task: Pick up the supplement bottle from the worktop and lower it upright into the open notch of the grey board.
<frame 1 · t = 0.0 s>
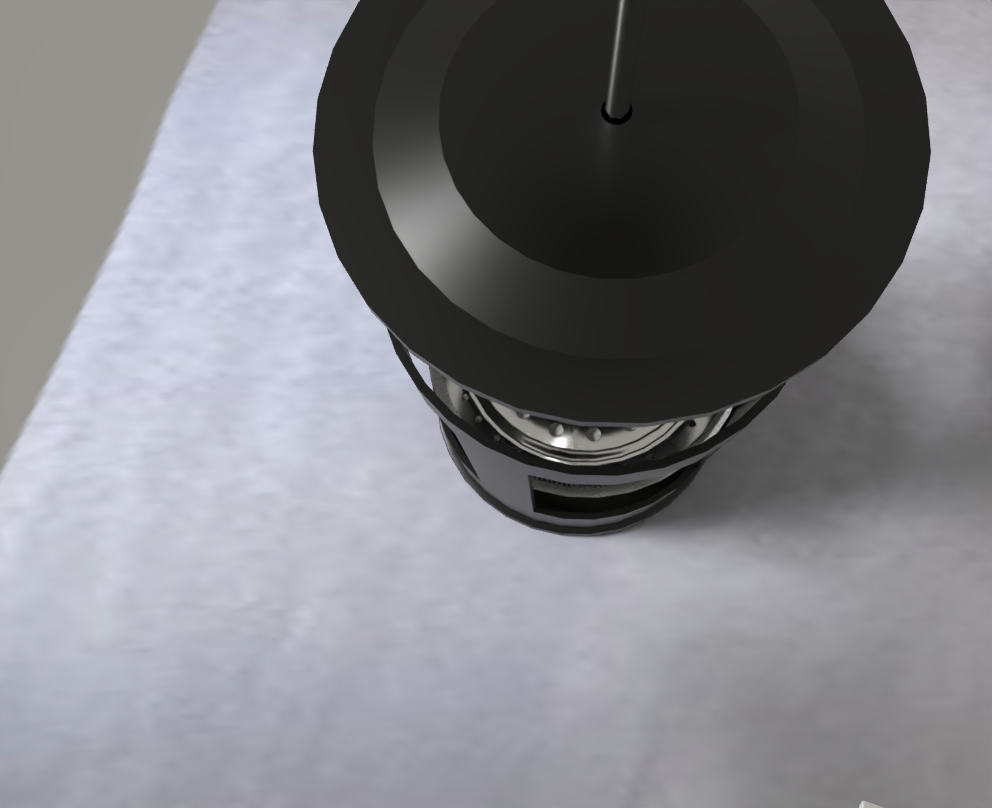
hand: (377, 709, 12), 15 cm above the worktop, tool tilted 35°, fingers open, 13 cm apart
french press: (563, 390, 29), on the worktop
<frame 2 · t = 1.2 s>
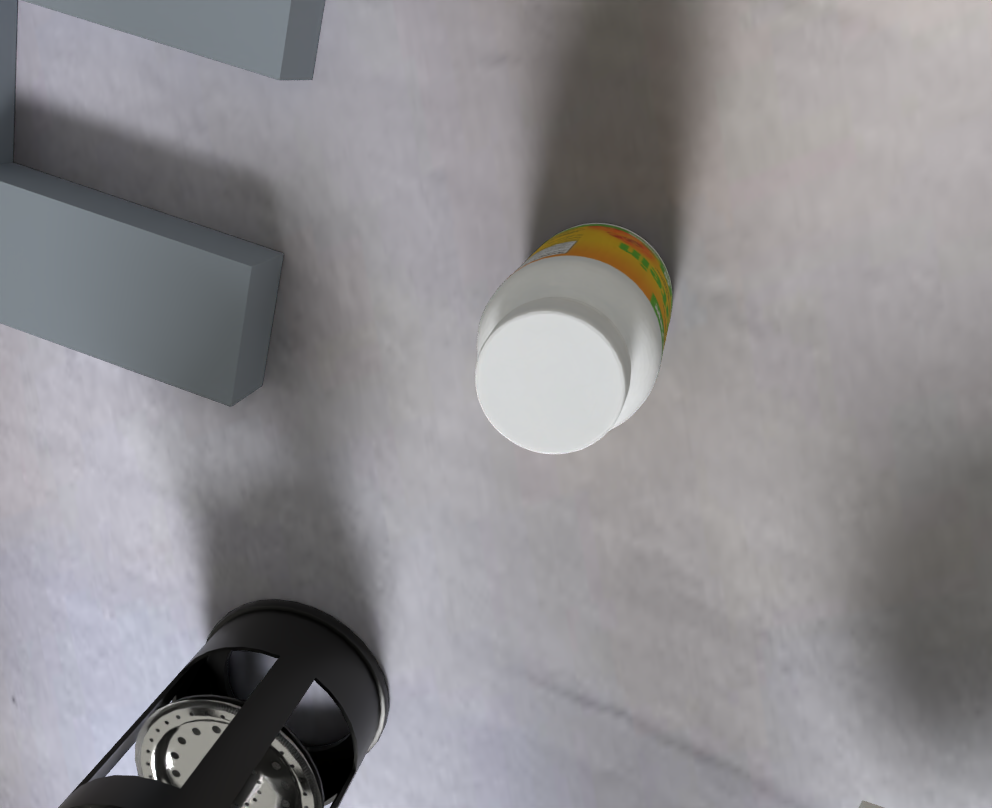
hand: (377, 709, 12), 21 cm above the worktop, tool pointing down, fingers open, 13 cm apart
supplement bottle: (598, 294, 31), on the worktop
notched board: (106, 108, 33), on the worktop
french press: (294, 687, 41), on the worktop
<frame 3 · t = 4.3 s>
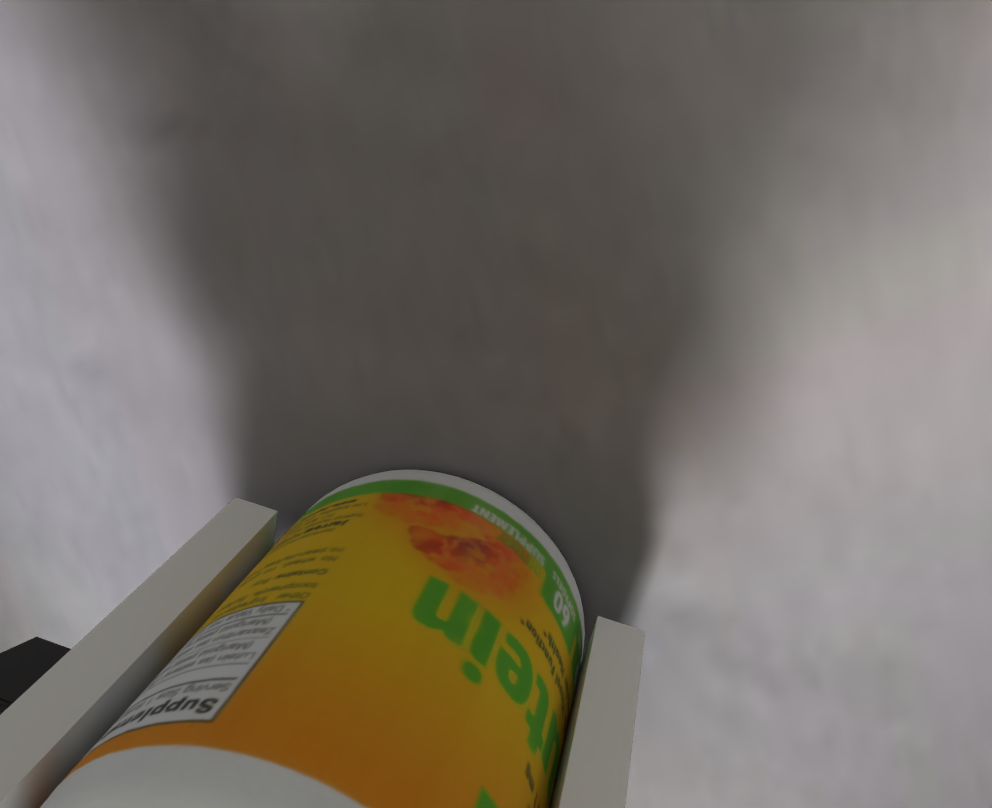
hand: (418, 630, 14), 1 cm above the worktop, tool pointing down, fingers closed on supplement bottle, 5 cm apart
supplement bottle: (437, 594, 15), on the worktop, touching gripper
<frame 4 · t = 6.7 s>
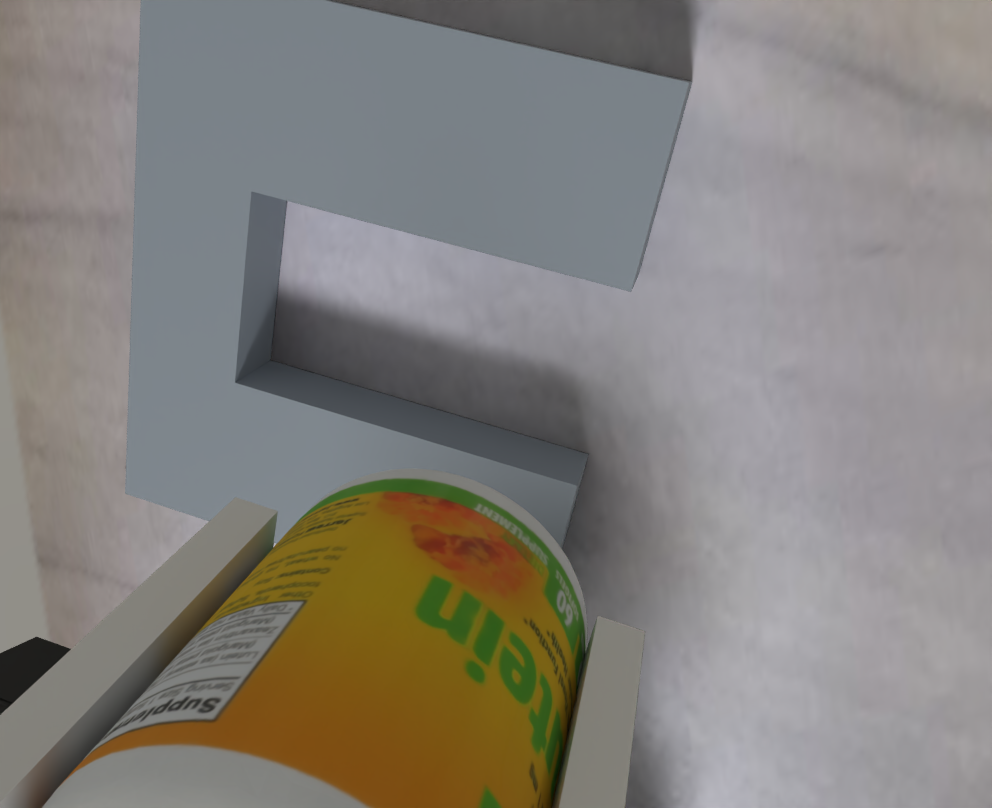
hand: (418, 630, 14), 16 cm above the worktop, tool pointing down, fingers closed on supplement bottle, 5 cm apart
supplement bottle: (439, 594, 15), point 15 cm above the worktop, touching gripper
notched board: (385, 304, 29), on the worktop
when the fingers open (2 cm above the worktop, at t = 9.4 s): supplement bottle drops 1 cm, resting in notched board.
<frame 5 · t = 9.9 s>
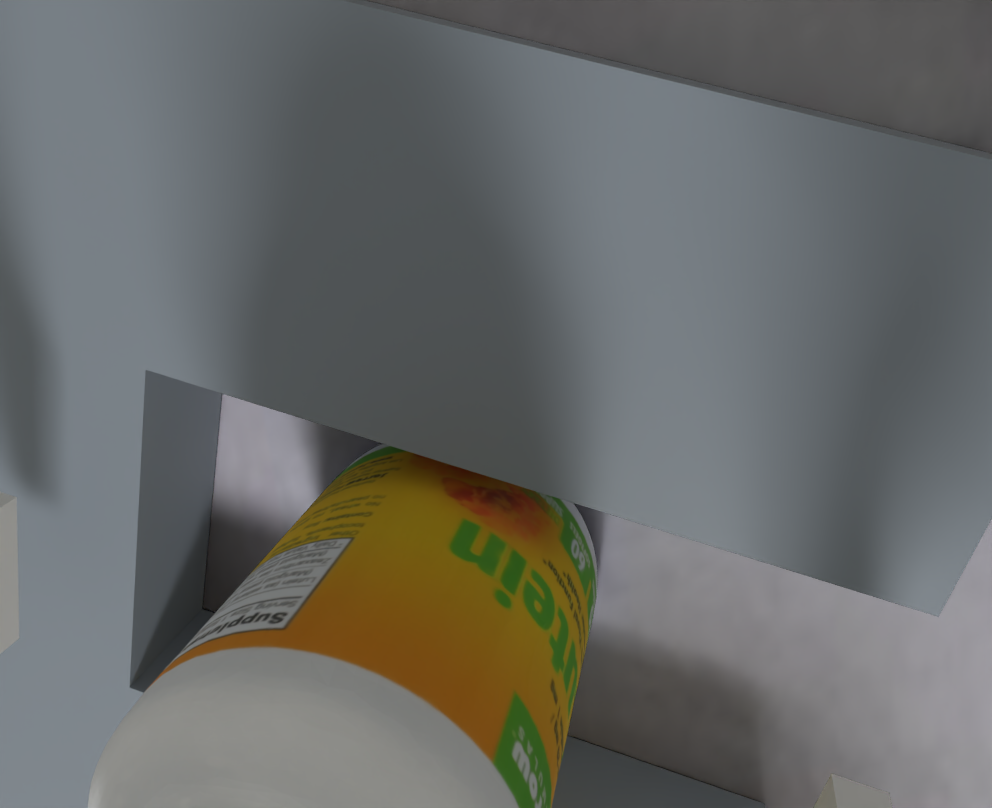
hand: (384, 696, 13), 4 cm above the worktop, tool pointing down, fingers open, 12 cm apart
supplement bottle: (461, 549, 16), resting in notched board
notched board: (406, 540, 16), on the worktop
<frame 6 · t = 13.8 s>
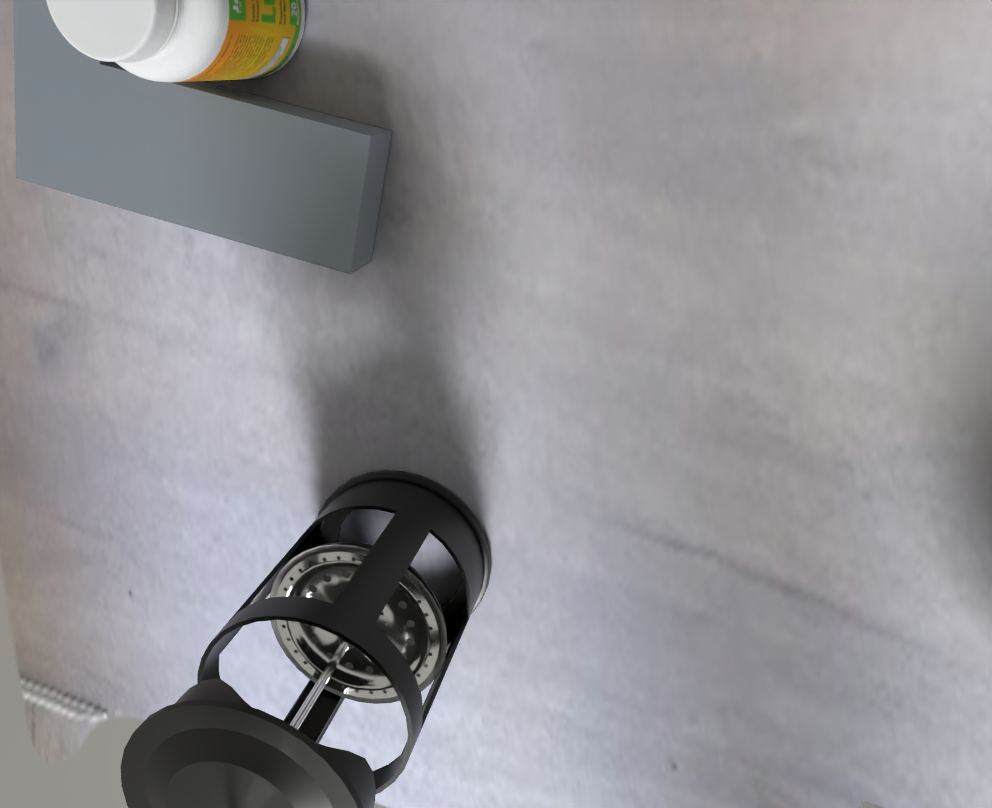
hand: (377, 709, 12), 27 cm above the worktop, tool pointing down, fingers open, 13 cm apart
supplement bottle: (251, 10, 36), resting in notched board
notched board: (225, 4, 36), on the worktop
french press: (400, 557, 44), on the worktop
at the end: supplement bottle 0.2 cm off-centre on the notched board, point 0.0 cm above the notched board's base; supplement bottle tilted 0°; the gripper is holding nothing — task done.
